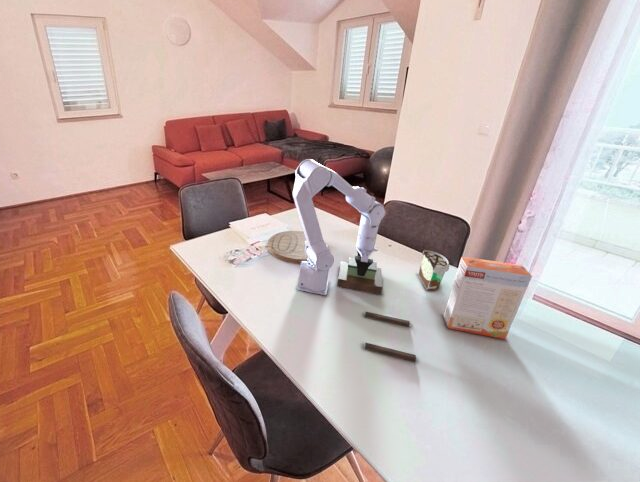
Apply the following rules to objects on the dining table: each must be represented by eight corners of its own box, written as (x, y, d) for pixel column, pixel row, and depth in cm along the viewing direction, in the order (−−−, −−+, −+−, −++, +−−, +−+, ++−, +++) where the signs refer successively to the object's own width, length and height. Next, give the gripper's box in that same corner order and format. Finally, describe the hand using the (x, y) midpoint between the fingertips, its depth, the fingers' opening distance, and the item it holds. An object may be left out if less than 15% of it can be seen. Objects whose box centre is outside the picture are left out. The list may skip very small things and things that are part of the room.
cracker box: (497, 325, 90) (523, 264, 82) (505, 340, 85) (534, 276, 77) (441, 315, 94) (461, 255, 86) (446, 328, 89) (468, 266, 81)
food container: (448, 295, 103) (457, 269, 99) (428, 293, 104) (435, 267, 100) (435, 274, 114) (442, 250, 110) (417, 272, 115) (423, 248, 111)
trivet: (327, 237, 141) (327, 233, 140) (328, 267, 119) (329, 262, 118) (272, 232, 146) (272, 228, 146) (263, 259, 124) (263, 255, 123)
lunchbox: (346, 274, 109) (348, 265, 107) (347, 267, 113) (348, 257, 112) (374, 280, 106) (376, 270, 104) (374, 272, 110) (376, 262, 109)
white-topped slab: (337, 286, 108) (338, 278, 107) (339, 268, 118) (340, 261, 117) (380, 294, 103) (382, 287, 102) (379, 275, 114) (381, 268, 113)
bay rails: (364, 348, 83) (365, 345, 82) (364, 314, 95) (365, 311, 94) (415, 361, 79) (416, 358, 78) (408, 324, 91) (409, 320, 90)
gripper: (381, 246, 96) (373, 283, 101) (379, 227, 108) (372, 261, 114) (356, 243, 98) (350, 279, 104) (358, 224, 111) (352, 257, 116)
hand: (360, 269), depth 109 cm, fingers open, 7 cm apart
